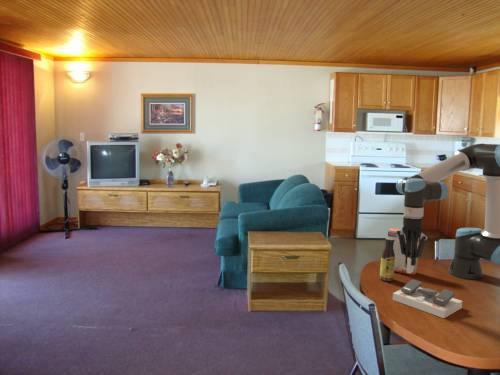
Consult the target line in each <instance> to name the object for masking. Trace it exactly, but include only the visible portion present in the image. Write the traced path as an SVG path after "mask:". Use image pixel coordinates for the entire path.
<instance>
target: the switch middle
mask: <svg viewBox="0 0 500 375" xmlns="http://www.w3.org/2000/svg"><path fill="white" fill-rule="evenodd" d="M421 288H422V289H417V292H418V293H421V294H424V295H438V293H439V291H438V290H434V289H431V288H428V287H427V288H426V287H425V288H424V287H421Z"/></svg>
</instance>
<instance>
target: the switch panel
mask: <svg viewBox="0 0 500 375" xmlns="http://www.w3.org/2000/svg"><path fill="white" fill-rule="evenodd" d="M422 288H423V287H421V286H420V287H419V288H418V289H422ZM439 293H440V292H438V294H439ZM436 296H437V295H424V294H421V293H418V292H417V290H416V291H415V292H413V293H412V294H411V295H410V294H407V293H404V292H401V289H399V290H396V291H395V292H392V301H395V302H398V303H400V304H403V305H406V306H409V307H411V308H414V309H417V310H420V311H422V312H425V313H428V314H430V315H434V316H437V317H439V318H442V319H445V318H447V317H449V316H450V315H452V314H454V313H455V312H457V311H459V310H461V309H462V308H463V300H460V299H457V298H454V297H453V298H452V299H451V300H450V301H449V302H448V303H447V304H446V305H445V306H441V305H438V304H436V303H433V299H434V298H435V297H436Z"/></svg>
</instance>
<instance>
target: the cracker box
mask: <svg viewBox="0 0 500 375" xmlns="http://www.w3.org/2000/svg"><path fill="white" fill-rule="evenodd" d="M399 230H402V228H401V229H400V228H393V227H391V228H389V229H388V230H387V238H393V239H394V245H393V249H394V254H395V265H394V273H400V274H406V275H410V276H415V275H416V273H417V272H418V259H419V257H418V258H416V264H415V265H414V268H413V272H412V273H407V264H406V263H405V259H406V256H405V255H404V254H402V253H401V248H400V242H399V236H398V234H397V231H399ZM404 236H405V234H404ZM405 238H406V236H405ZM419 242H420V237H419V238H418V243H417V248H418V245H419ZM405 243H406V240H405ZM411 247H412V245H411ZM410 256H411V255H410Z"/></svg>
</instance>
